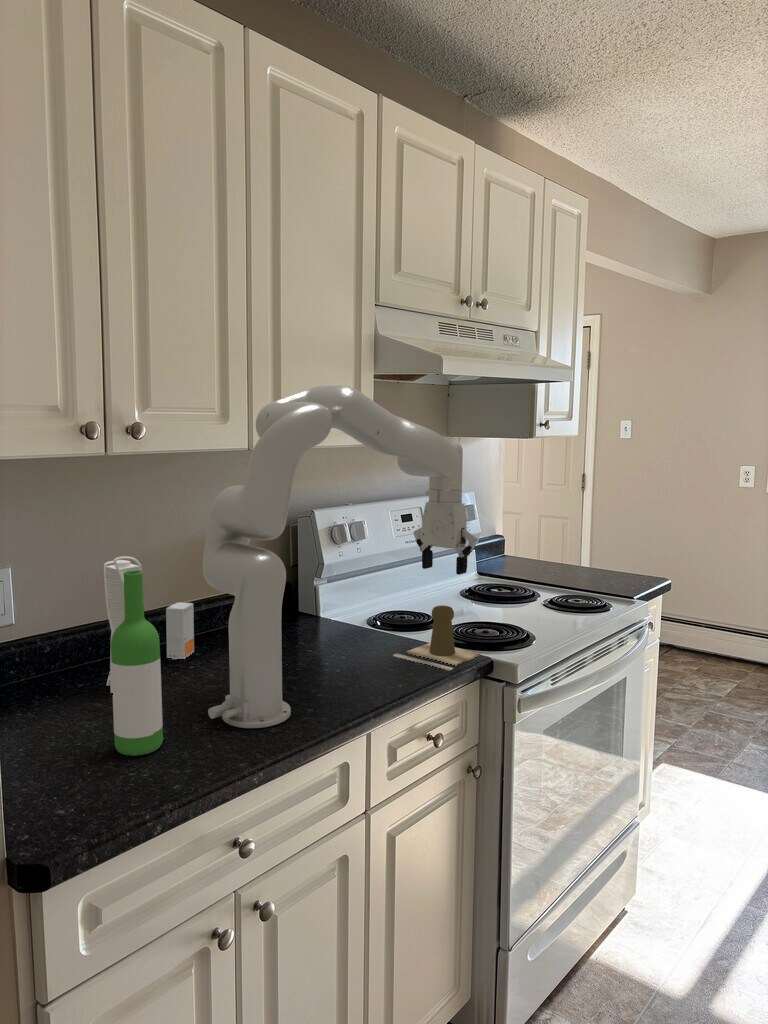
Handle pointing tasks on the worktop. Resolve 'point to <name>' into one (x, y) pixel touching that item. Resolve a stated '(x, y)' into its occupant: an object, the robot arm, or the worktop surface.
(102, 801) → the worktop surface
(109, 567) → the skyscraper
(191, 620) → the skincare box
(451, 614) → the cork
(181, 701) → the worktop surface
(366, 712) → the worktop surface
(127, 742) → the wine bottle
